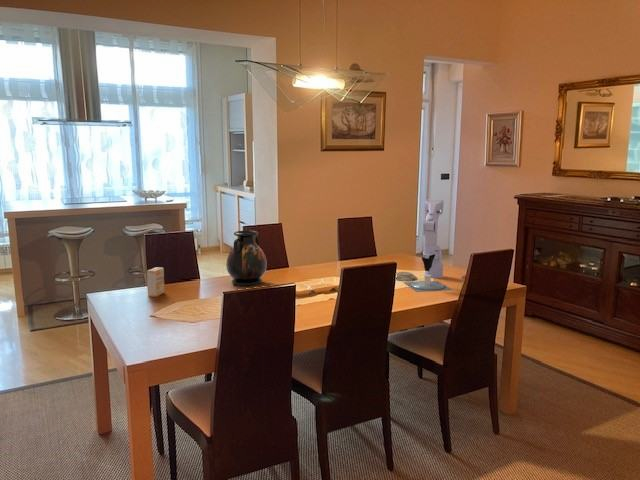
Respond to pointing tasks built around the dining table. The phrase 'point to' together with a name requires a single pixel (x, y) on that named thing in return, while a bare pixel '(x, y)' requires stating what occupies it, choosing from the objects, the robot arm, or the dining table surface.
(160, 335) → the dining table surface
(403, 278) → the decorative bowl
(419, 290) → the mat
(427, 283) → the lid
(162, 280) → the supplement box
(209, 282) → the dining table surface
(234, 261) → the amphora vase
